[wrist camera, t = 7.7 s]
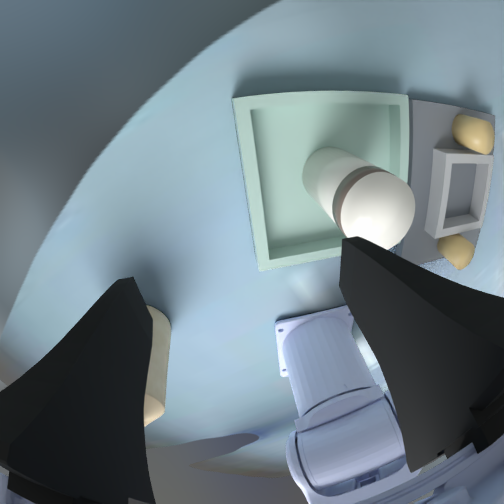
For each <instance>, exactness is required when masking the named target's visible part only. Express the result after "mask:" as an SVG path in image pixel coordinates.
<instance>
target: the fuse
mask: <svg viewBox="0 0 504 504" xmlns="http://www.w3.org/2000/svg"><path fill="white" fill-rule="evenodd" d="M302 181H303V185H304V187H305V189H306V191H307V192H308V194H309V195H310V196H311V197H312V198H313V199H314V200H315V201H316V202H317V203H318V204H319V206H320V207H321V208H322V209H323V210H324V211H325V212H326V213H327V214H328V216H329V217H330V218H331V219H332V220H333V221H334V222H335V223H336V225H337V226H338V228H339V229H340V230H341V231H342V232H343V234H344V235H345V236H346V237H347V238H349V237H355V236H359V237H362V238H364V239H366V240H369V241H371V242H373V243H375V244H377V245H379V246H381V247H383V248H385V249H386V250H388V249H390V248H392V247H393V246H395V245H396V244H397V243H398V242H399V241H400V240H401V239H402V238H403V237H404V236H405V235H406V233H407V232H408V230H409V228H410V226H411V224H412V221H413V218H414V214H415V199H414V195H413V192H412V190H411V188H410V187H409V186H408V184H407V183H406V182H404V181H403V180H401V179H400V178H398V177H397V176H395V175H394V174H392V173H390V172H388V171H386V170H384V169H382V168H380V167H377V166H375V165H373V164H371V163H370V162H368V161H365V160H363V159H361V158H359V157H357V156H355V155H353V154H351V153H349V152H347V151H345V150H342V149H340V148H337V147H324V148H321V149H319V150H317V151H315V152H314V153H313V154H311V155H310V157H309V158H308V159H307V161H306V163H305V165H304V167H303V172H302Z"/></svg>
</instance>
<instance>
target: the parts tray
mask: <svg viewBox="0 0 504 504" xmlns="http://www.w3.org/2000/svg"><path fill="white" fill-rule="evenodd" d="M231 100H232V106H233V113H234V119H235V126H236V132H237V139H238V145H239V152H240V158H241V165H242V171H243V178H244V184H245V191H246V197H247V204H248V211H249V217H250V224H251V230H252V237H253V244H254V250H255V257H256V261H257V264H258V268H259V272H260V271H265V270H271V269H276V268H281V267H286V266H292V265H297V264H302V263H307V262H312V261H317V260H322V259H327V258H332V257H337V256H341V249H342V239H344V238H347V237H346V236H345V235H344V234H343V232H342V231H341V230H340V229H339V228H338V226H337V225H336V223H335V222H334V221H333V220H332V219H331V218H330V217H329V216H328V214H327V213H326V212H325V211H324V210H323V209H322V208H321V207H320V206H319V204H318V203H317V202H316V201H315V200H314V199H313V198H312V197H311V196H310V195H309V194H308V192H307V191H306V189H305V187H304V185H303V181H302V172H303V167H304V165H305V163H306V161H307V159H308V158H309V157H310V155H311V154H313V153H314V152H315V151H317V150H319V149H321V148H324V147H337V148H340V149H342V150H345V151H347V152H349V153H351V154H353V155H355V156H357V157H359V158H361V159H363V160H365V161H368V162H370V163H371V164H373V165H375V166H377V167H380V168H382V169H384V170H386V171H388V172H390V173H392V174H394V175H395V176H397V177H398V178H400V179H401V180H403V181H404V182H406V183H407V181H408V164H409V101H408V95H403V94H394V93H382V92H365V91H303V92H286V93H274V94H263V95H254V96H246V97H239V98H233V99H231ZM400 242H401V240H400V241H399V242H398V243H397V244H399V243H400Z"/></svg>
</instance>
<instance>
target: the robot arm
mask: <svg viewBox="0 0 504 504" xmlns="http://www.w3.org/2000/svg"><path fill="white" fill-rule="evenodd" d="M339 286H340V289H341V291H342V294H343V296H344V299H345V301H346V304H347V305H346V306H342V307H338V308H334V309H330V310H326V311H321V312H317V313H313V314H308V315H304V316H299V317H295V318H290V319H285V320H280V321H277V322H276V323H275V333H276V342H277V351H278V360H279V369H280V375H281V376H282V377H286V376H289V379H290V383H291V387H292V391H293V394H294V398H295V402H296V406H297V410H298V413H299V417H300V418H299V419H296V420H295V425H296V430H295V431H292V432H291V433H290V435H289V438H288V440H287V442H286V458H287V463H288V466H289V469H290V472H291V475H292V477H293V479H294V481H295V482H296V484H297V485H298V486H299V487H300V488H301V489H302V491H303V493H304V495H305V497H306V499H307V501H308V503H309V504H408V503H410V502H412V501H414V500H416V499H417V498H419V497H421V496H423V495H425V494H427V493H429V492H430V491H432V490H434V489H435V490H434V493H433V495H432V496H430V497H427V498H425V499H422V500H420V501H417V502H415V503H413V504H504V298H503V297H499V296H495V295H491V294H488V293H485V292H482V291H478V290H475V289H472V288H469V287H466V286H464V285H461V284H458V283H456V282H453V281H451V280H448V279H446V278H443V277H441V276H439V275H437V274H434V273H432V272H430V271H428V270H426V269H424V268H422V267H420V266H418V265H416V264H414V263H412V262H410V261H408V260H406V259H404V258H402V257H400V256H398V255H396V254H394V253H392V252H390V251H388V250H386V249H385V248H383V247H381V246H379V245H377V244H375V243H373V242H371V241H369V240H366V239H364V238H362V237H359V236H355V237H349V238H344V239H342V249H341V267H340V282H339ZM354 319H355V321H356V323H357V324H358V326H359V328H360V330H361V331H362V333H363V335H364V337H365V338H366V340H367V342H368V344H369V346H370V347H371V349H372V351H373V353H374V355H375V356H376V359H377V361H378V363H379V365H380V367H381V370H382V372H383V375H384V377H385V380H386V383H387V385H388V388H389V390H388V391H386V392H385V393H384V394H383V392H382V390H381V388H380V386H379V385H376V383H375V381H374V379H373V377H372V375H371V373H370V371H369V369H368V367H367V364H366V362H365V360H364V358H363V356H362V354H361V352H360V350H359V348H358V346H357V344H356V342H355V340H354V338H353V336H352V334H351V331H352V326H353V320H354ZM152 340H153V318H152V316H151V314H150V312H149V310H148V308H147V306H146V304H145V302H144V300H143V298H142V295H141V293H140V291H139V289H138V287H137V284H136V282H135V280H134V278H133V277H130V278H124V279H118V280H117V281H116V282H115V283H114V284H113V285H111V286H110V287H109V288H108V290H107V291H106V292H105V293H104V294H103V295H102V296H101V297H100V298H99V299H98V300H97V301H96V302H95V304H94V305H93V306H92V307H91V308H90V309H89V310H88V311H87V312H86V314H85V315H84V316H83V317H82V318H81V319H80V320H79V321H78V322H77V323H76V325H75V326H74V327H73V328H72V329H71V330H70V331H69V332H68V333H67V334H66V335H65V337H64V338H63V339H62V340H61V341H60V342H59V343H58V344H57V345H56V346H55V347H54V348H53V349H52V350H51V351H50V352H49V353H48V354H46V355H45V356H44V357H43V358H42V359H41V360H40V361H39V362H38V363H37V364H35V365H34V366H33V367H32V368H31V369H29V370H28V371H27V372H26V373H25V374H23V375H22V376H21V377H20V378H19V379H17V380H16V381H15V382H13V383H12V384H11V385H9V386H8V387H6V388H5V389H4V390H2V391H1V392H0V466H2V467H3V468H5V469H7V470H9V477H8V476H6V475H4V474H3V473H0V504H156V503H155V499H154V495H153V491H152V486H151V482H150V477H149V471H148V464H147V457H146V447H145V434H144V400H145V391H146V384H147V377H148V370H149V363H150V357H151V350H152ZM443 455H446V457H447V459H446V460H445V461H443V462H442V463H440V464H438V465H437V466H435V467H433V468H431V469H430V470H428V471H426V472H424V473H422V474H421V475H419V476H417V475H418V473H419V472H420V471H421V469H422V467H424V466H426V465H428V464H429V463H431V462H433V461H435V460H436V459H438V458H440V457H441V456H443Z"/></svg>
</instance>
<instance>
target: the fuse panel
mask: <svg viewBox="0 0 504 504" xmlns="http://www.w3.org/2000/svg"><path fill="white" fill-rule="evenodd" d="M408 101H409V164H408V181H407V184H408V186H409V187H410V188H411V190H412V192H413V195H414V199H415V214H414V218H413V221H412V224H411V226H410V228H409V230H408V232H407V233H406V235H405V236H404V237H403V238H402V239H401V242H400V243H399V244H397V246H396V252H395V254H396V255H398V256H400V257H402V258H404V259H406V260H408V261H410V262H412V263H414V264H416V265H420V264H423V263H427V262H430V261H434V260H437V259H441V258H444V257H445V258H446V259H447V260H448V261H449V262H450V263H451V264H452V265H453V266H455V267H456V268H457V269H458V270H461V269H463V268H465V267H466V266H467V265H468V264H469V263H470V261H471V260H472V258H473V255H474V251H475V248H476V244H477V241H478V237H479V233H480V229H481V227H482V224H483V220H484V216H485V211H486V206H487V201H488V196H489V190H490V184H491V177H492V169H493V160H494V156H493V151H494V139H495V136H494V135H495V115H491V114H488V113H484V112H480V111H476V110H471V109H467V108H462V107H457V106H452V105H447V104H441V103H435V102H428V101H421V100H413V99H408Z"/></svg>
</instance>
